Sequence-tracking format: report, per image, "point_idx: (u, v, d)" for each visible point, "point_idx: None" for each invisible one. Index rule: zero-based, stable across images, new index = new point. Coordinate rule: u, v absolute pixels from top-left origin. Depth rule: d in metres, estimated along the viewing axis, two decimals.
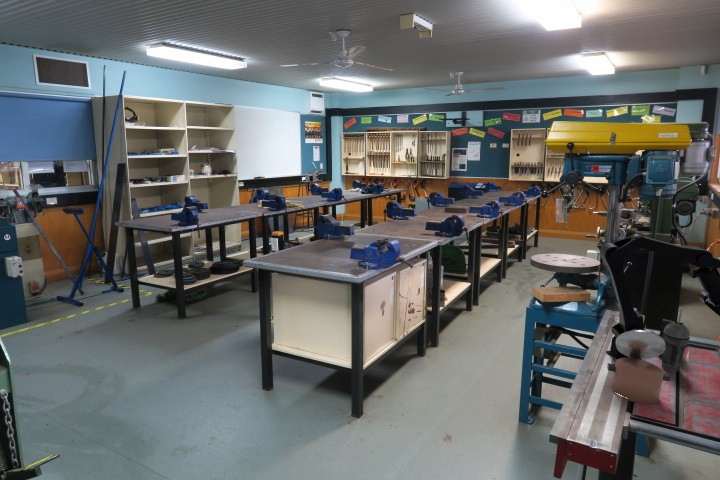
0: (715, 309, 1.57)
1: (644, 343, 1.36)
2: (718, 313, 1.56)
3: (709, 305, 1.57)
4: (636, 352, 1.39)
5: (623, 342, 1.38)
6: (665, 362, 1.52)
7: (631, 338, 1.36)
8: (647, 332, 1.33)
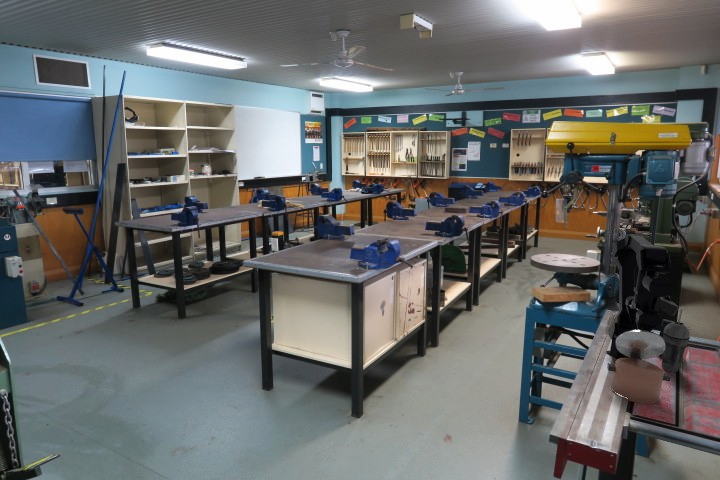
0: (632, 315, 1.49)
1: (644, 343, 1.36)
2: (632, 320, 1.49)
3: (630, 309, 1.49)
4: (636, 352, 1.39)
5: (623, 342, 1.38)
6: (665, 362, 1.52)
7: (631, 338, 1.36)
8: (647, 332, 1.33)
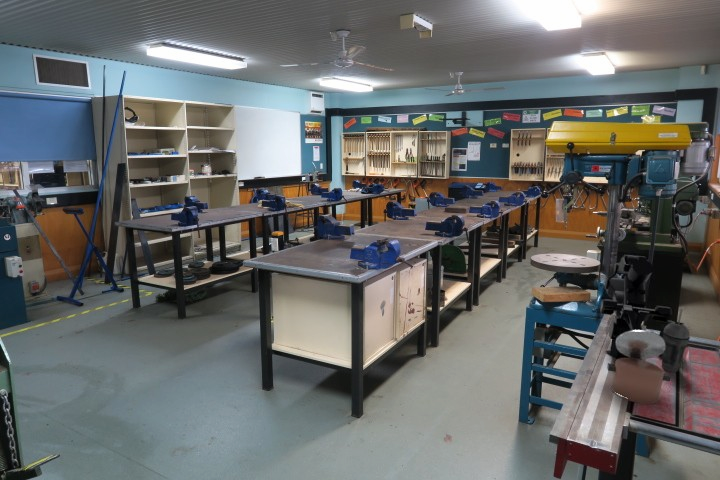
0: None
1: (644, 343, 1.36)
2: (635, 324, 1.45)
3: None
4: (636, 352, 1.39)
5: (623, 342, 1.38)
6: (665, 362, 1.52)
7: (631, 338, 1.36)
8: (647, 332, 1.33)
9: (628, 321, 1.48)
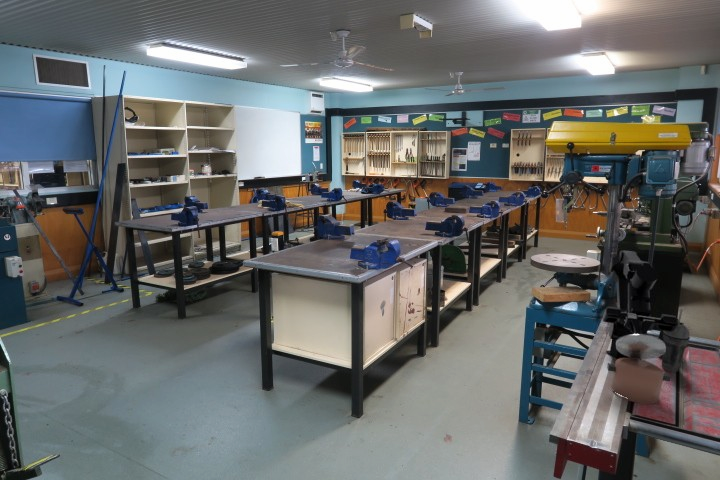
0: None
1: (644, 346, 1.35)
2: None
3: None
4: (636, 353, 1.39)
5: (623, 344, 1.38)
6: (665, 362, 1.52)
7: (631, 341, 1.36)
8: (647, 336, 1.32)
9: (632, 330, 1.41)
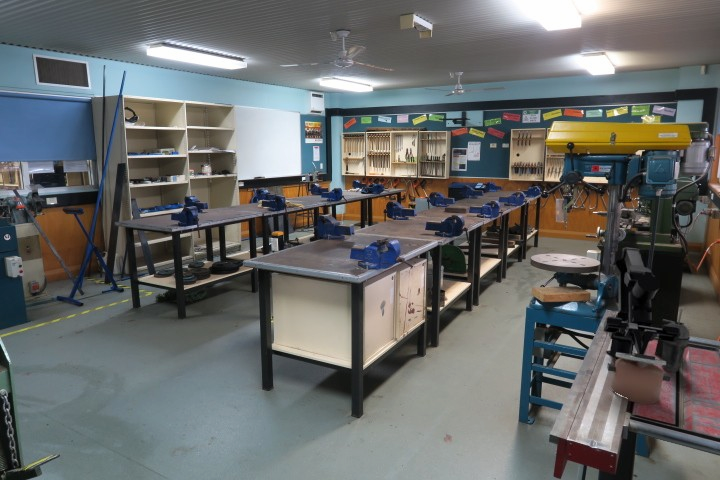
0: None
1: None
2: None
3: None
4: None
5: None
6: None
7: None
8: (647, 361, 1.30)
9: (633, 340, 1.38)
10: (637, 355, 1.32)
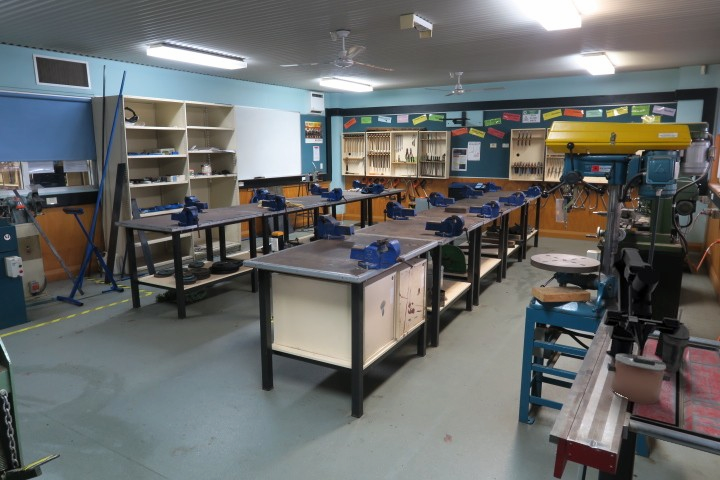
0: None
1: None
2: None
3: None
4: None
5: None
6: (665, 362, 1.52)
7: None
8: (647, 367, 1.29)
9: (633, 333, 1.39)
10: (637, 360, 1.31)
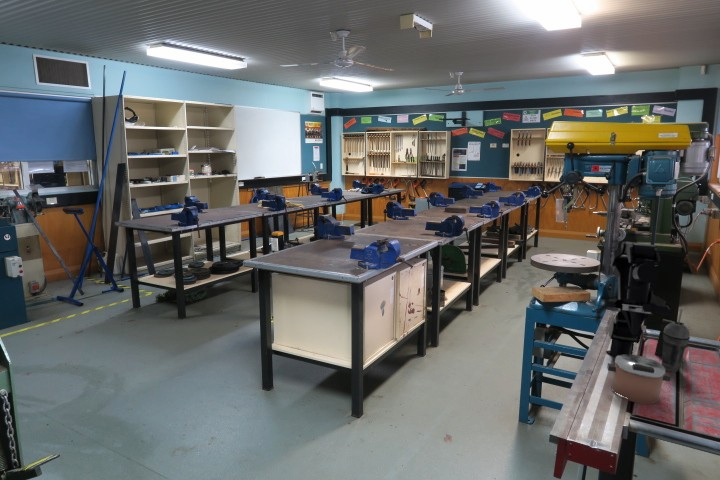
0: (630, 318, 1.47)
1: None
2: None
3: (627, 311, 1.47)
4: None
5: None
6: (665, 362, 1.52)
7: None
8: (646, 375, 1.30)
9: None
10: (636, 368, 1.31)
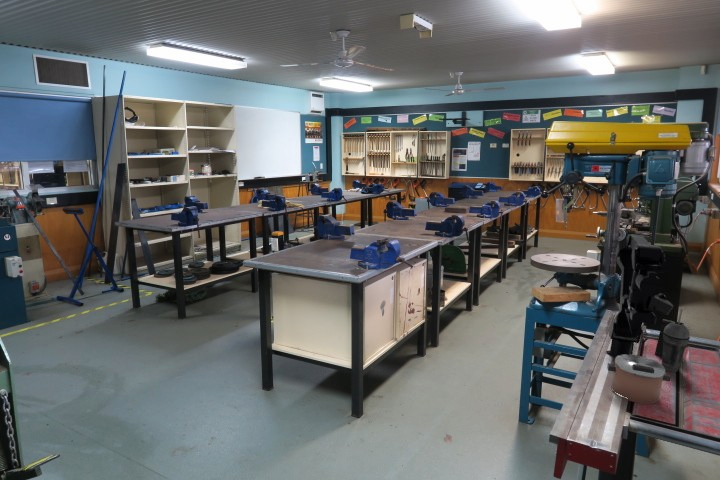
0: None
1: None
2: None
3: (628, 312, 1.46)
4: None
5: None
6: (665, 362, 1.52)
7: None
8: (646, 376, 1.30)
9: None
10: (636, 368, 1.31)
